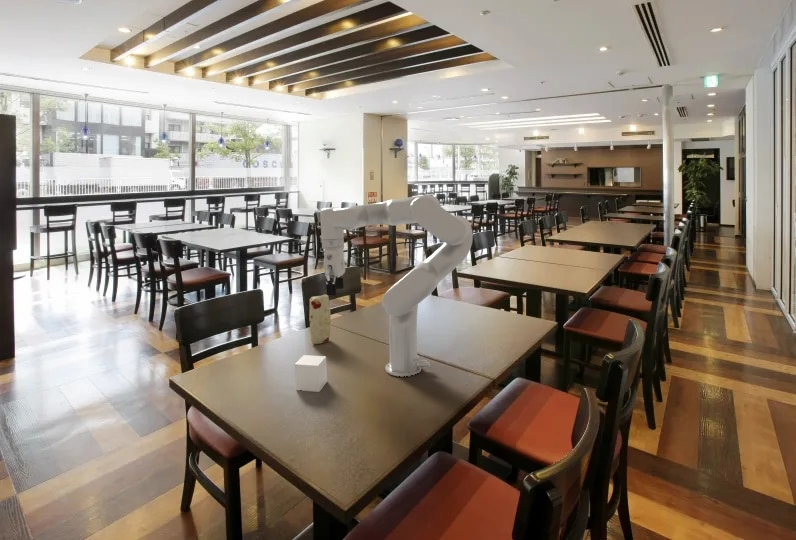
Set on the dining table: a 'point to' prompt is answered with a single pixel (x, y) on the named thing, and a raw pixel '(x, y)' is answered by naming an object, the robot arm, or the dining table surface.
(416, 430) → the dining table surface
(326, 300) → the food model
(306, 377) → the off-white matte cube
